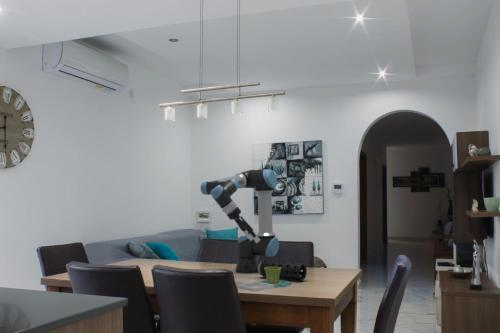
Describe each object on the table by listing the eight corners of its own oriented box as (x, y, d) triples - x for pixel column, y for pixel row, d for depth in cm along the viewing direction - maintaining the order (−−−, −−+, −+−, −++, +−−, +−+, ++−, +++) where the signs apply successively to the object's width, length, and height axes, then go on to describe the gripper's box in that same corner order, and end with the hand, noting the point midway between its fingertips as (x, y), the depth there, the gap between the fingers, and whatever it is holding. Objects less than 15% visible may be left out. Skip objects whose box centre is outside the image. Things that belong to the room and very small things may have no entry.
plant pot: (285, 284, 273) (284, 268, 274) (272, 286, 267) (272, 269, 268) (273, 282, 280) (272, 266, 281) (260, 284, 274) (260, 267, 274)
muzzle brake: (298, 283, 279) (298, 264, 279) (257, 278, 295) (257, 260, 295) (307, 280, 286) (307, 262, 287) (265, 276, 302) (265, 259, 303)
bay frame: (234, 286, 267) (234, 284, 267) (270, 281, 285) (270, 278, 285) (257, 291, 254) (257, 288, 254) (293, 285, 271) (293, 282, 271)
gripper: (222, 214, 287) (245, 242, 289) (230, 215, 262) (255, 247, 264) (232, 205, 288) (255, 234, 290) (241, 206, 264) (266, 237, 266)
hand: (255, 240), depth 277 cm, fingers open, 13 cm apart
